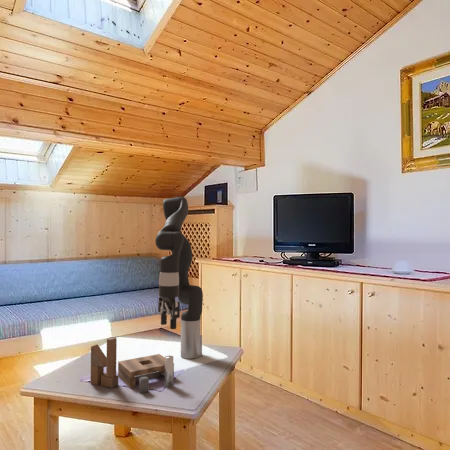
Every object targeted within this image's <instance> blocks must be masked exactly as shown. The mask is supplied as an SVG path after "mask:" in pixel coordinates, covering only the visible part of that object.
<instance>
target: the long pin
mask: <svg viewBox="0 0 450 450" xmlns="http://www.w3.org/2000/svg"><path fill="white" fill-rule="evenodd" d="M164 357H165V376H164V387H165V388H167V389H169V388H173V387H174V378H173V363H174V356H173V355H165V356H164Z"/></svg>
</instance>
